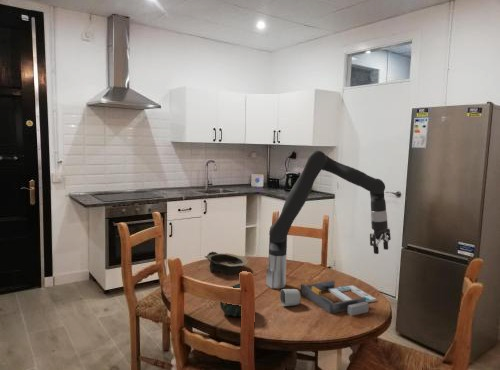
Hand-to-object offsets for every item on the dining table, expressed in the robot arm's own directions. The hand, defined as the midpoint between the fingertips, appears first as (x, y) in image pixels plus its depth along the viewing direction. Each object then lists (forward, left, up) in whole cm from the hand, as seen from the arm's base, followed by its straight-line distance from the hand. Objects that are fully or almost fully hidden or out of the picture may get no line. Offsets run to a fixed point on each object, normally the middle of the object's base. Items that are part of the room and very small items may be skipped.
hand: (381, 251), depth 190 cm
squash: (-73, +8, -23) cm, 77 cm away
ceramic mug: (-47, +9, -23) cm, 53 cm away
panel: (-23, -12, -23) cm, 35 cm away
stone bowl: (-56, +62, -23) cm, 87 cm away
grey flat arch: (-14, +4, -23) cm, 27 cm away
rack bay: (-25, +4, -22) cm, 34 cm away
